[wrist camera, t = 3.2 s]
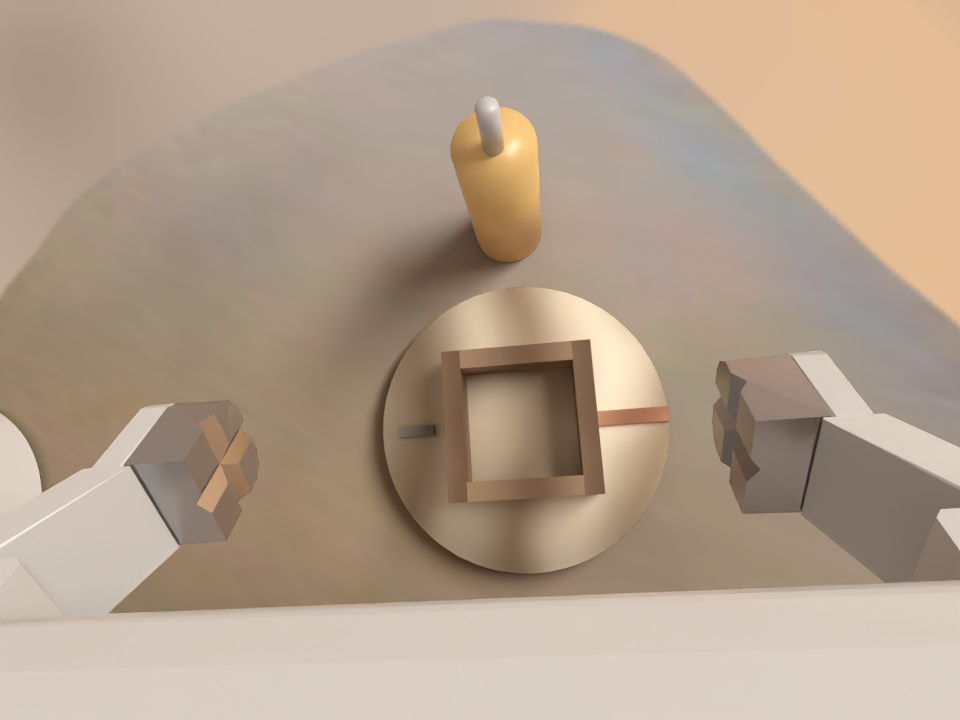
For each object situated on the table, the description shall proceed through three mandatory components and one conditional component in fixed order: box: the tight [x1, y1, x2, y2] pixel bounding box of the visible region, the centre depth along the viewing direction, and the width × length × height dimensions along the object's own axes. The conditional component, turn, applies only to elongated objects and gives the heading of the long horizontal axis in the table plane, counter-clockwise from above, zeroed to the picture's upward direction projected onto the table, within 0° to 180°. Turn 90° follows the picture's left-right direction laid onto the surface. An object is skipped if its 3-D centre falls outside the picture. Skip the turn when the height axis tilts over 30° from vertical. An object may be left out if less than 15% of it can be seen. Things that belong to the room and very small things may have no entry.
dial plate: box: [383, 287, 670, 574], centre depth 34 cm, size 16×16×4 cm
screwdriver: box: [451, 97, 541, 263], centre depth 31 cm, size 4×4×13 cm
